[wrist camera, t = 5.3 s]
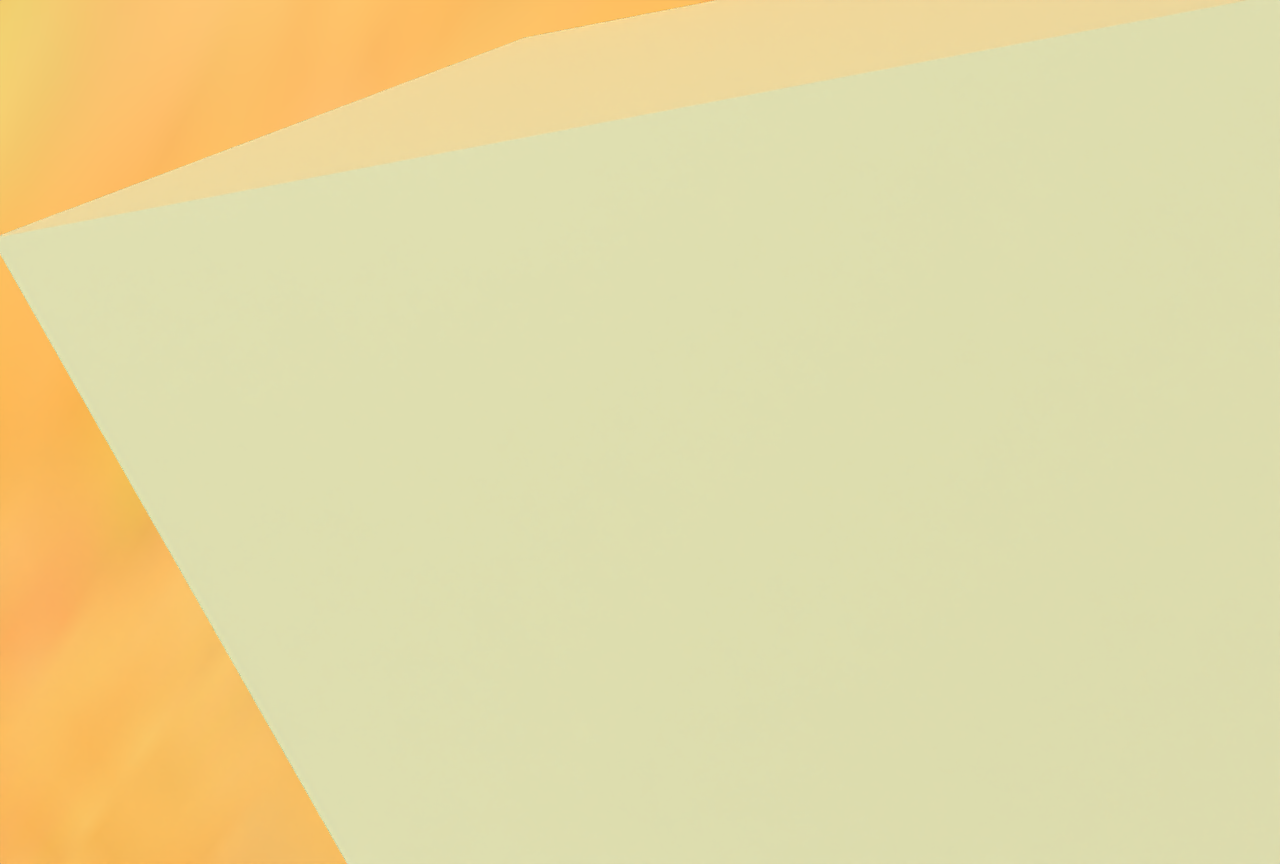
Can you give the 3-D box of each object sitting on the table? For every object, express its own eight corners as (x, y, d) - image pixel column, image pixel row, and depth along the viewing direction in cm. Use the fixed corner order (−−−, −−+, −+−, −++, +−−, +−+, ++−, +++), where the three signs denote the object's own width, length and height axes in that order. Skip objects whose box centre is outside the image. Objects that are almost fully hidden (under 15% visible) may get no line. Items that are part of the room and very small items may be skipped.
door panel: (797, 727, 19) (1032, 1577, 9) (677, 745, 20) (769, 1606, 9) (719, -1, 12) (1655, -76, 1) (524, 37, 12) (-9, 239, 1)
